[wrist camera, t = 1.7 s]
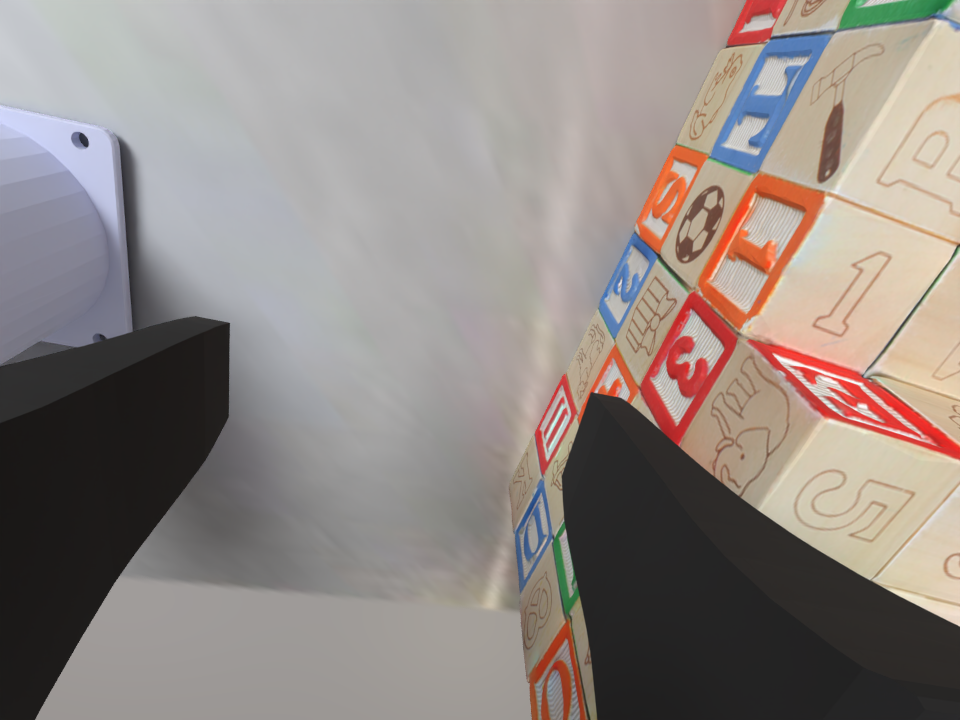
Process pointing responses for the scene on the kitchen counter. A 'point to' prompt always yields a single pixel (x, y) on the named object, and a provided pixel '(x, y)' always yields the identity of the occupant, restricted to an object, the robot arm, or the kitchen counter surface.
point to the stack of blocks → (785, 313)
